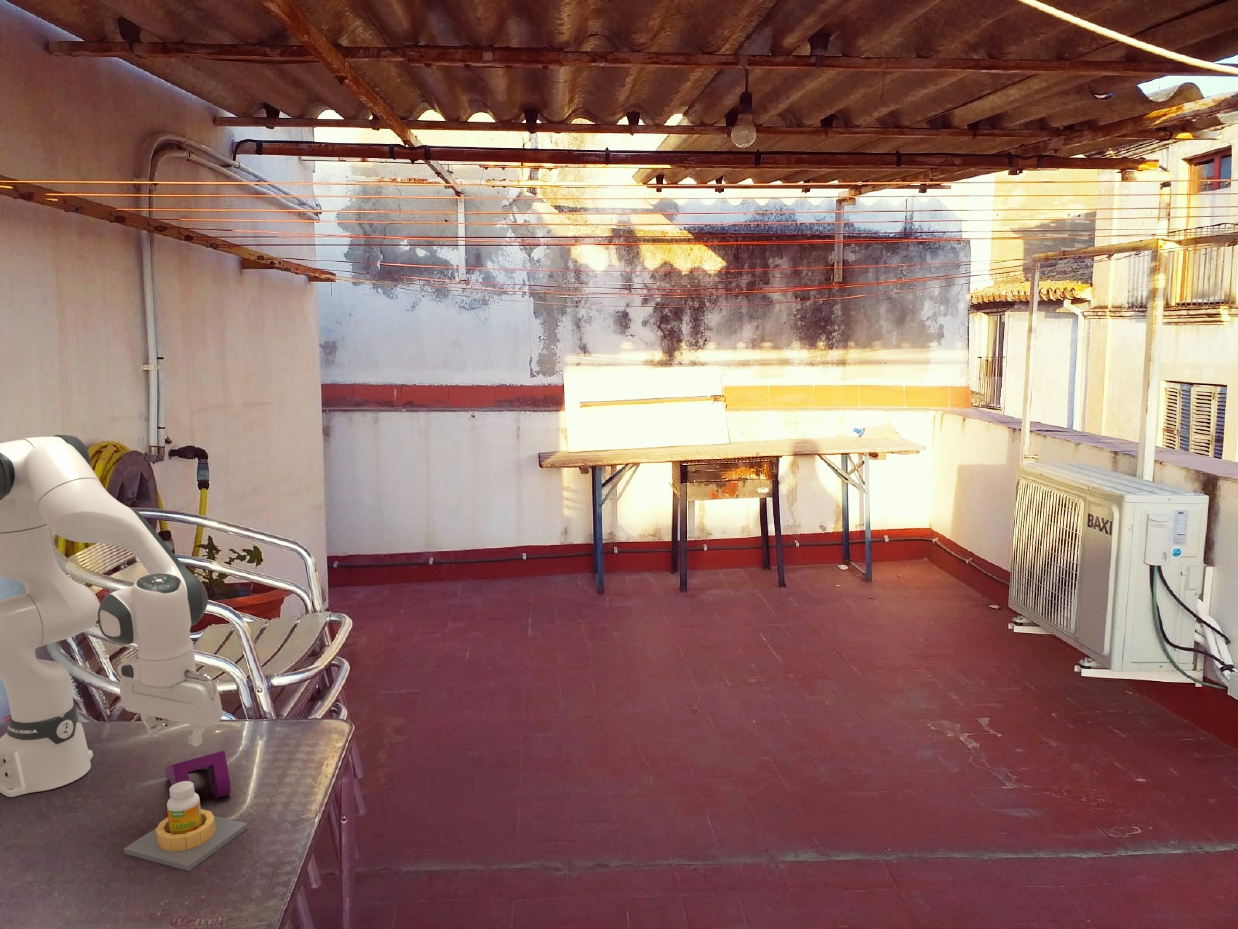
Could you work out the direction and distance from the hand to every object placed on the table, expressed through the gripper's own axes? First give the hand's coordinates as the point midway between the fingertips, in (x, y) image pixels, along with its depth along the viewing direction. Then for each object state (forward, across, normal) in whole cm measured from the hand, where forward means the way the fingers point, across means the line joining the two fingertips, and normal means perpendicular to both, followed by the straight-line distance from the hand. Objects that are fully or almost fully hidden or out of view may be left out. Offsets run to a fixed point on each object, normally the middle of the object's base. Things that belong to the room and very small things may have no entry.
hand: (175, 740), depth 170 cm
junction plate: (+20, -1, 0) cm, 20 cm away
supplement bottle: (+19, -1, 0) cm, 19 cm away
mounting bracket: (+20, +13, -15) cm, 28 cm away
